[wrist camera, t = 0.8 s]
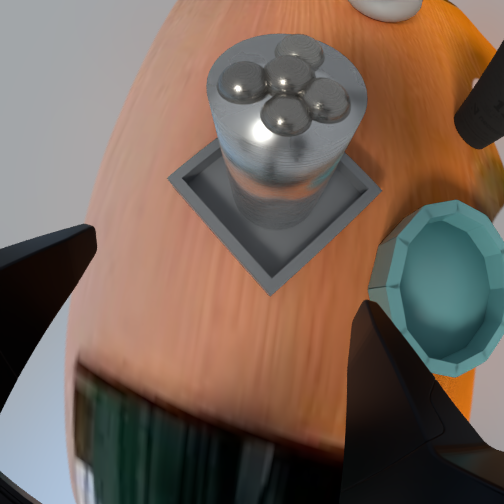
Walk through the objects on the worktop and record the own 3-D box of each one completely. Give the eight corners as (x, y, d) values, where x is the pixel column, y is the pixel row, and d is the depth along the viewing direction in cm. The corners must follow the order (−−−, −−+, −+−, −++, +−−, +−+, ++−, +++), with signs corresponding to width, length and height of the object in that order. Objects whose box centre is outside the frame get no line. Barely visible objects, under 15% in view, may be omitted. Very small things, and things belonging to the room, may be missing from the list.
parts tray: (269, 296, 22) (270, 296, 20) (174, 188, 23) (166, 178, 21) (372, 200, 23) (382, 190, 21) (277, 109, 24) (278, 94, 22)
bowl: (428, 396, 20) (449, 407, 16) (336, 287, 22) (350, 285, 18) (505, 289, 21) (529, 287, 18) (432, 185, 23) (452, 170, 19)
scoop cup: (272, 248, 21) (290, 169, 9) (214, 185, 22) (168, 63, 9) (334, 192, 22) (405, 81, 9) (277, 136, 23) (288, 2, 10)
